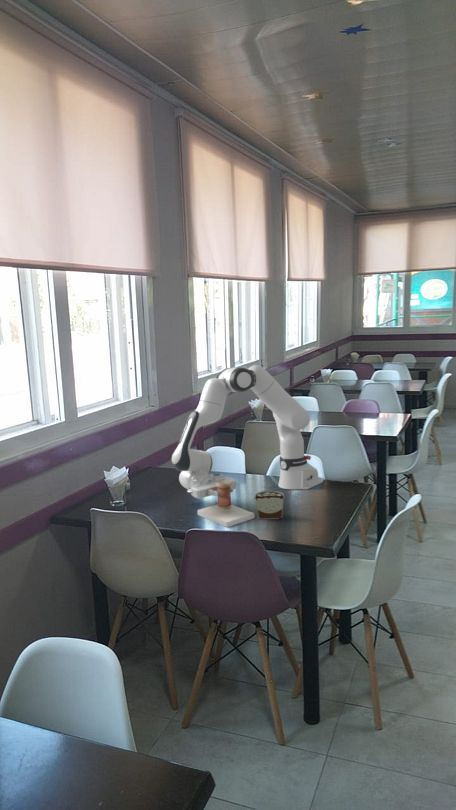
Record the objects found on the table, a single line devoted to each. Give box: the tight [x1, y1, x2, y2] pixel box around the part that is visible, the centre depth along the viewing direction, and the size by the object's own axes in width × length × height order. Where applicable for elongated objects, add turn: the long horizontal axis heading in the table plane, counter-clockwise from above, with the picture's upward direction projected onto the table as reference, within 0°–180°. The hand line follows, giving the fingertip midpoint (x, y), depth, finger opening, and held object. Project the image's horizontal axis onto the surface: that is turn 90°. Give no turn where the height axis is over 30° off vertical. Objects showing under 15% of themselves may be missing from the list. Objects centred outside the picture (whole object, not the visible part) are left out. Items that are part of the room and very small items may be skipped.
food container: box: [253, 490, 286, 520], centre depth 229 cm, size 12×6×10 cm, turn 84°
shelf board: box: [197, 503, 255, 528], centre depth 232 cm, size 14×20×2 cm
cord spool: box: [216, 481, 233, 510], centre depth 231 cm, size 6×6×10 cm
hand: (225, 492), depth 230 cm, fingers closed on cord spool, 5 cm apart
